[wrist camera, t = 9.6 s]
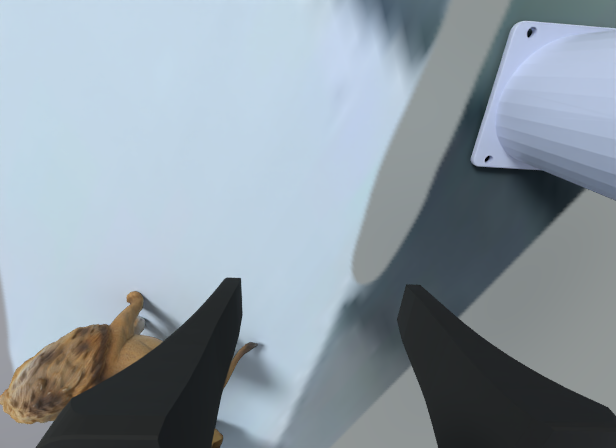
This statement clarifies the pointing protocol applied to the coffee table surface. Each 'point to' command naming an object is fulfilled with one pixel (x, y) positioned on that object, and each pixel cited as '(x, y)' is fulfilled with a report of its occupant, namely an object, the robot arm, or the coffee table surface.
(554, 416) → the robot arm
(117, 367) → the lion figurine
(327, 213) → the coffee table surface
